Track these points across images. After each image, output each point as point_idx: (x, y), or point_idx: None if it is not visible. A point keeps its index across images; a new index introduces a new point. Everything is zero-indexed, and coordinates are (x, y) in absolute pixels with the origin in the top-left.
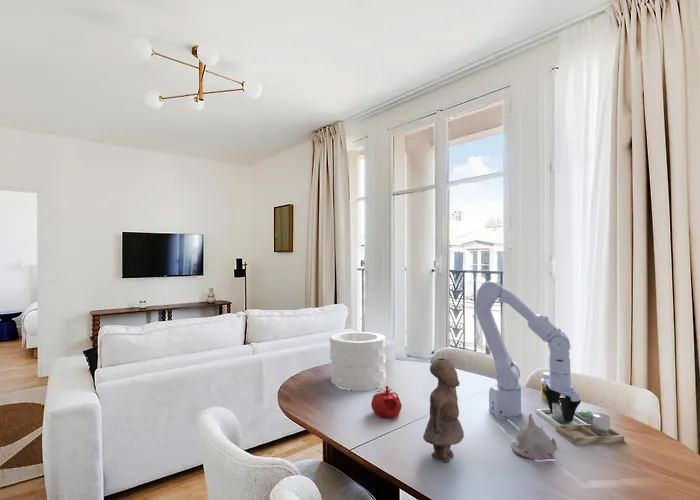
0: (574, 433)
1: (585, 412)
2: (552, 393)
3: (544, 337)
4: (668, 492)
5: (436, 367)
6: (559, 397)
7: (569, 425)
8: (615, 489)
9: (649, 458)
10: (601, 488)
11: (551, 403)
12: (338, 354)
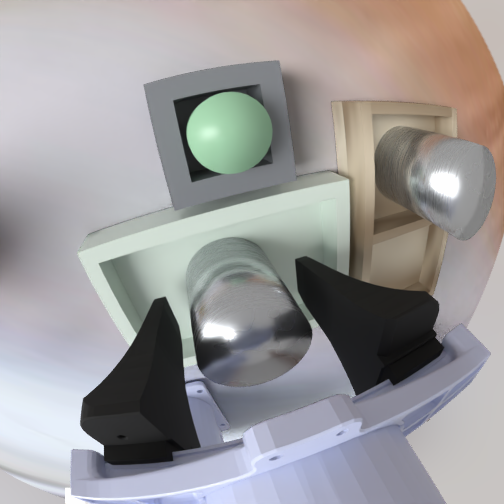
0: (373, 264)
1: (254, 149)
2: (183, 424)
3: None
4: None
5: None
6: (152, 359)
7: None
8: (494, 252)
9: (471, 100)
10: (487, 271)
11: (178, 366)
12: None
